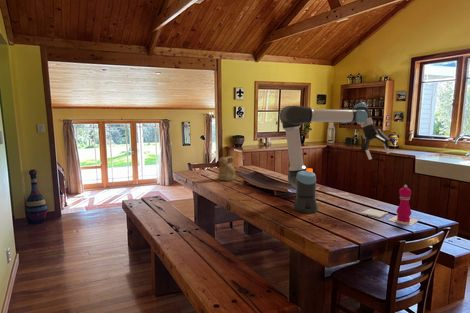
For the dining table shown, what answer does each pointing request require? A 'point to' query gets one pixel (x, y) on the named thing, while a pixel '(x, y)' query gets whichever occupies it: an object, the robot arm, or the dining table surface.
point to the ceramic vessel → (226, 168)
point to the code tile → (411, 222)
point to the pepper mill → (404, 205)
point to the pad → (374, 213)
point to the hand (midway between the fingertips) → (379, 156)
